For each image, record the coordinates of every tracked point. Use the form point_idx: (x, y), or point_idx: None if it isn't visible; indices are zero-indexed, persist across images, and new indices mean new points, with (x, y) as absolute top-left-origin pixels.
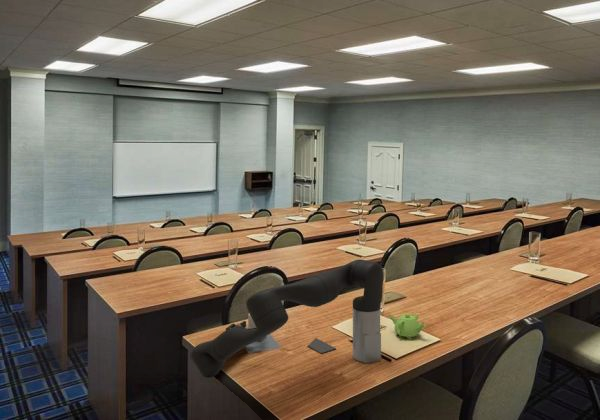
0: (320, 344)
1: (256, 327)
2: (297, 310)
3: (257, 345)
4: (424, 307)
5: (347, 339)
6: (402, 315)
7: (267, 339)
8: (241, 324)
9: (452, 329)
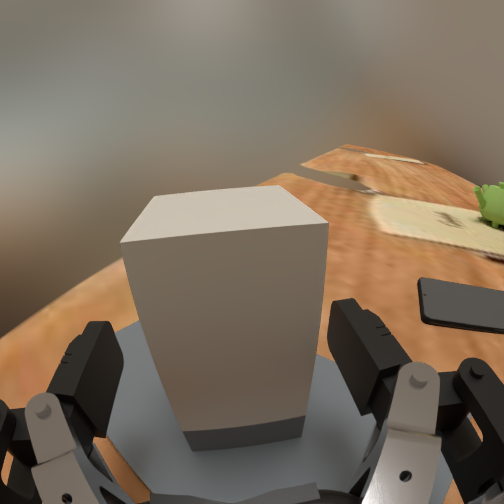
0: (499, 302)
1: (439, 446)
2: None
3: None
4: (405, 183)
5: (480, 258)
6: (492, 186)
7: None
8: (78, 396)
9: None
